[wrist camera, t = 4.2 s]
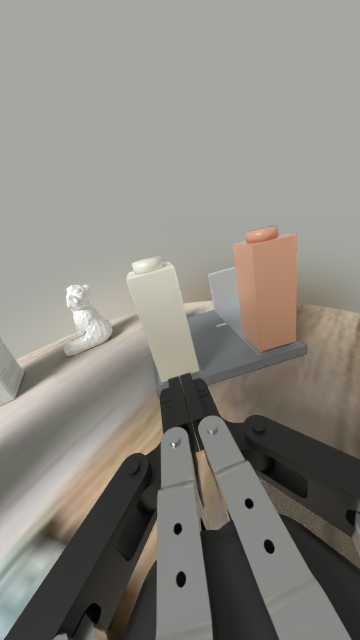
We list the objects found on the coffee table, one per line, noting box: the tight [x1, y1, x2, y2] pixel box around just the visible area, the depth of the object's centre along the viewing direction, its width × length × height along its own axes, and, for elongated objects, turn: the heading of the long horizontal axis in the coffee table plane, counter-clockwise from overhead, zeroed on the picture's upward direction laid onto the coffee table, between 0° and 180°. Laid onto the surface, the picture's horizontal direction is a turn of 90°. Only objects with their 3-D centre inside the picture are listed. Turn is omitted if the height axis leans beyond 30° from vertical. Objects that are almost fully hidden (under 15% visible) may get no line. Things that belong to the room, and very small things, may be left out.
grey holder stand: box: [154, 267, 307, 399], centre depth 29 cm, size 18×17×8 cm
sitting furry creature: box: [63, 284, 113, 356], centre depth 39 cm, size 10×9×12 cm
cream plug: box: [126, 256, 199, 382], centre depth 22 cm, size 4×4×13 cm
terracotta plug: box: [233, 226, 297, 352], centre depth 23 cm, size 4×4×13 cm
